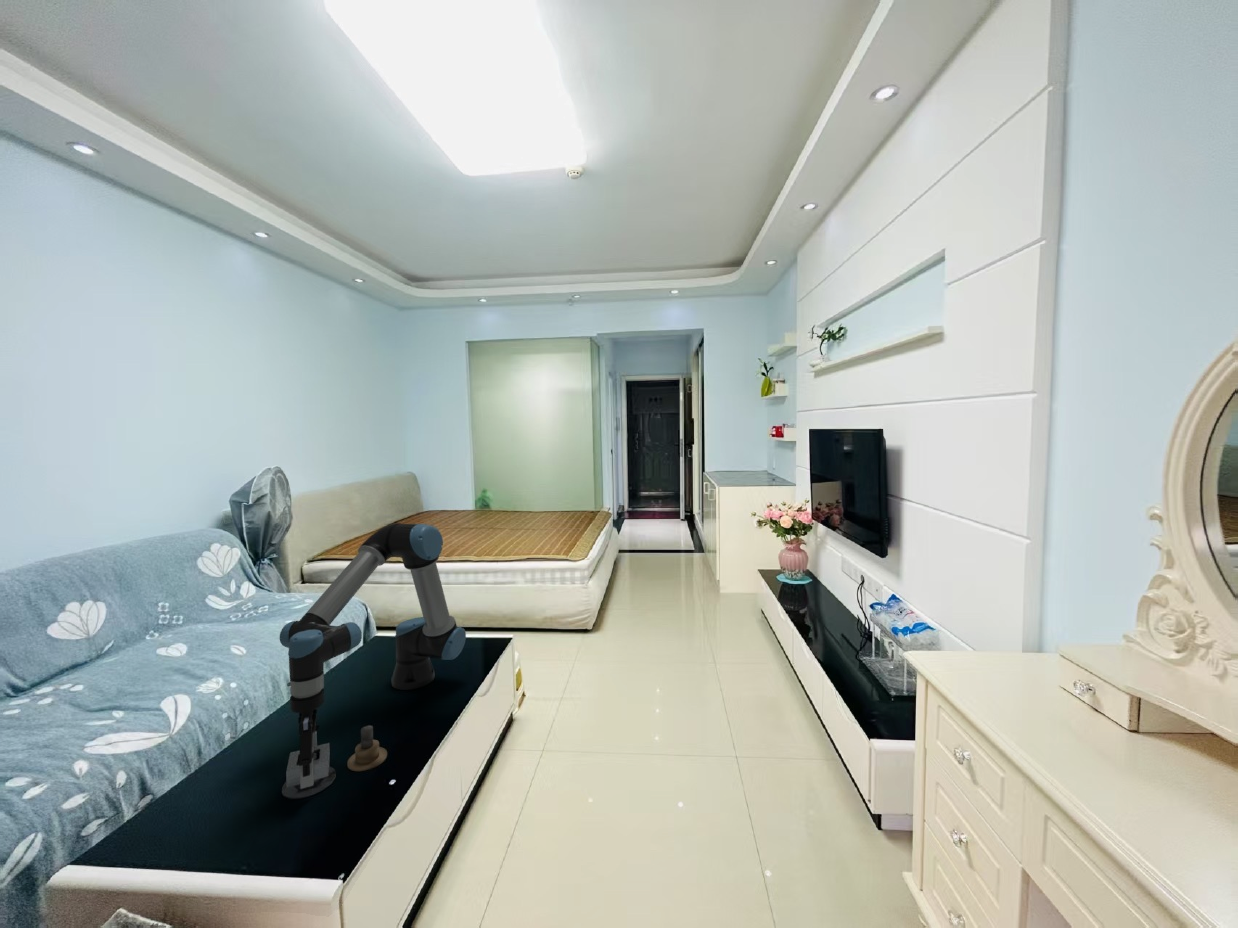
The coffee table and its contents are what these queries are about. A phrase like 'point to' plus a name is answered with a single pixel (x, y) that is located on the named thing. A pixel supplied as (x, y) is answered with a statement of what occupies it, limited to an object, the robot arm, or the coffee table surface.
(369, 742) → the stand
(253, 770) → the coffee table surface
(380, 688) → the coffee table surface
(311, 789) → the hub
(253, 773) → the coffee table surface
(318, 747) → the collar
